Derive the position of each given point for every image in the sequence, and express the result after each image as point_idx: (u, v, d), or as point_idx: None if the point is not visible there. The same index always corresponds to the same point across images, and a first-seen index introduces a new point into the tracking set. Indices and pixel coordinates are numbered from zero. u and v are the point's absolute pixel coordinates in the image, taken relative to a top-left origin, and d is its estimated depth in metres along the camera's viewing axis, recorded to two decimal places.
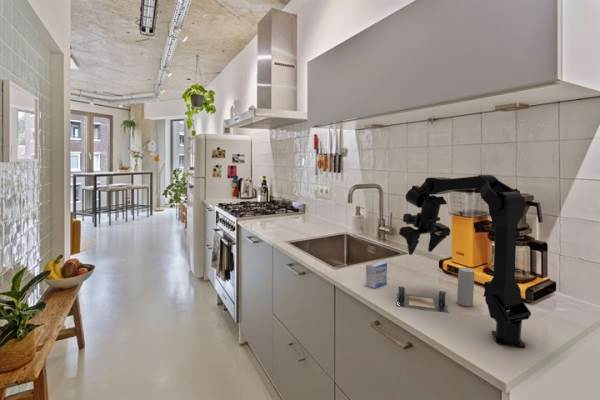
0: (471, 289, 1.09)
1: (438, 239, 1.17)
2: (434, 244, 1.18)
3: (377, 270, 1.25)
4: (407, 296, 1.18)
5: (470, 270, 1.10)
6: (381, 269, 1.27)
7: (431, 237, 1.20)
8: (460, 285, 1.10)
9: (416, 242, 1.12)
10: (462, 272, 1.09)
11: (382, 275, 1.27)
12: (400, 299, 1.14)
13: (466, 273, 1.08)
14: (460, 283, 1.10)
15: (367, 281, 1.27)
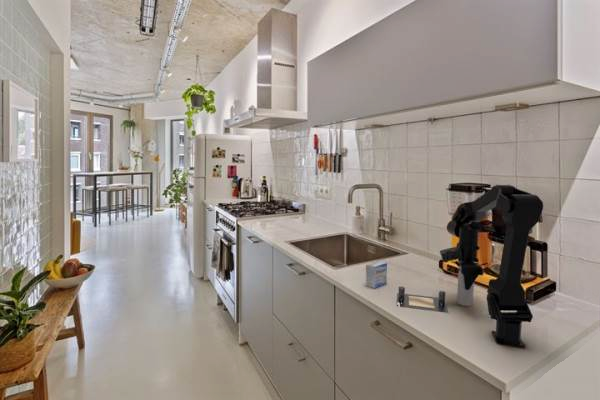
0: (471, 289, 1.09)
1: None
2: None
3: (377, 270, 1.25)
4: (407, 296, 1.18)
5: None
6: (381, 269, 1.27)
7: None
8: (460, 285, 1.10)
9: None
10: None
11: (382, 275, 1.27)
12: (400, 299, 1.14)
13: None
14: (460, 283, 1.10)
15: (367, 281, 1.27)
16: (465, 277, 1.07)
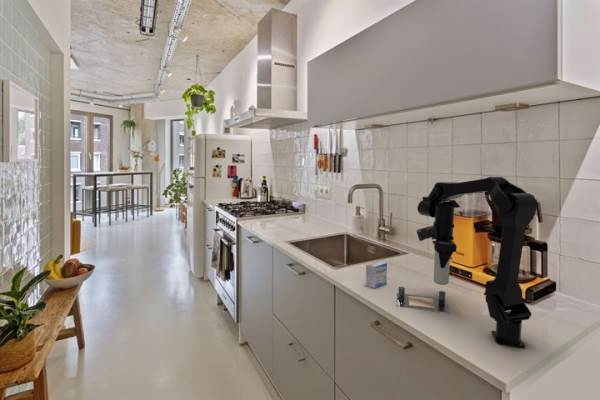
0: (447, 267, 1.09)
1: None
2: None
3: (377, 270, 1.25)
4: (407, 296, 1.18)
5: None
6: (381, 269, 1.27)
7: None
8: (436, 263, 1.10)
9: None
10: None
11: (382, 275, 1.27)
12: (400, 299, 1.14)
13: None
14: (436, 261, 1.10)
15: (367, 281, 1.27)
16: (440, 255, 1.07)
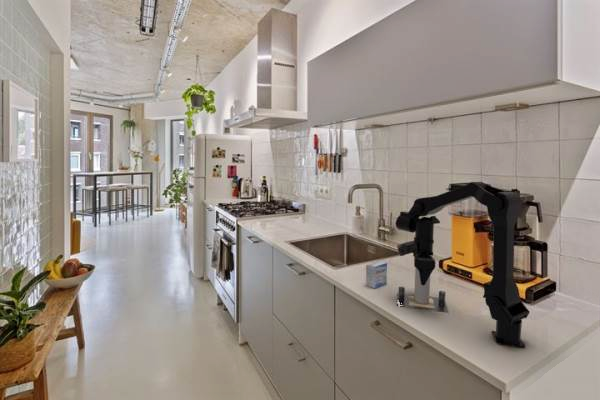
0: (427, 287, 1.10)
1: None
2: None
3: (377, 270, 1.25)
4: (407, 296, 1.18)
5: None
6: (381, 269, 1.27)
7: None
8: (416, 282, 1.11)
9: None
10: (418, 270, 1.10)
11: (382, 275, 1.27)
12: (400, 299, 1.14)
13: None
14: (416, 281, 1.11)
15: (367, 281, 1.27)
16: (420, 272, 1.06)
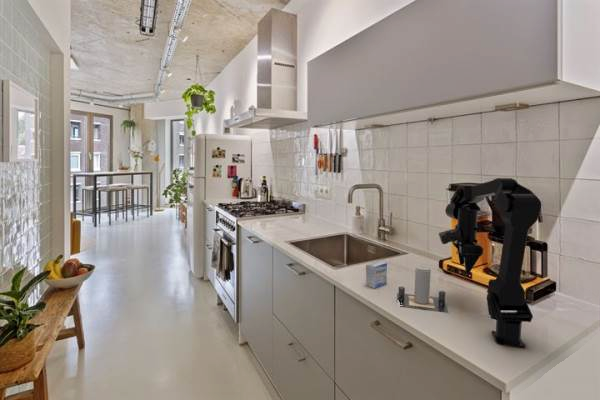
0: (427, 287, 1.10)
1: None
2: None
3: (377, 270, 1.25)
4: (407, 296, 1.18)
5: (426, 268, 1.12)
6: (381, 269, 1.27)
7: (459, 250, 1.16)
8: (416, 282, 1.11)
9: None
10: (418, 270, 1.10)
11: (382, 275, 1.27)
12: (400, 299, 1.14)
13: (422, 271, 1.10)
14: (416, 281, 1.11)
15: (367, 281, 1.27)
16: (466, 260, 1.05)
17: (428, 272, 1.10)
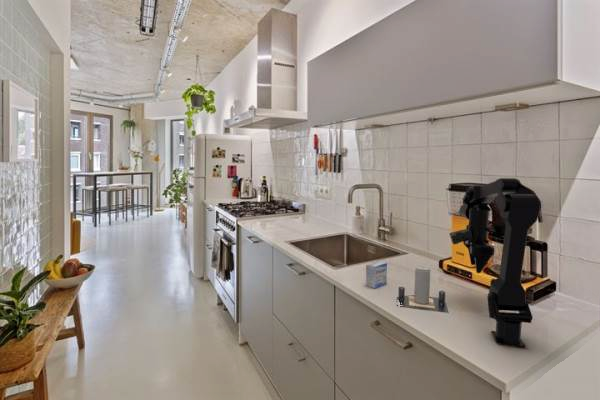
0: (427, 287, 1.10)
1: None
2: None
3: (377, 270, 1.25)
4: (407, 296, 1.18)
5: (426, 268, 1.12)
6: (381, 269, 1.27)
7: (470, 250, 1.16)
8: (416, 282, 1.11)
9: None
10: (418, 270, 1.10)
11: (382, 275, 1.27)
12: (400, 299, 1.14)
13: (421, 271, 1.10)
14: (416, 281, 1.11)
15: (367, 281, 1.27)
16: (476, 260, 1.05)
17: (428, 272, 1.10)
